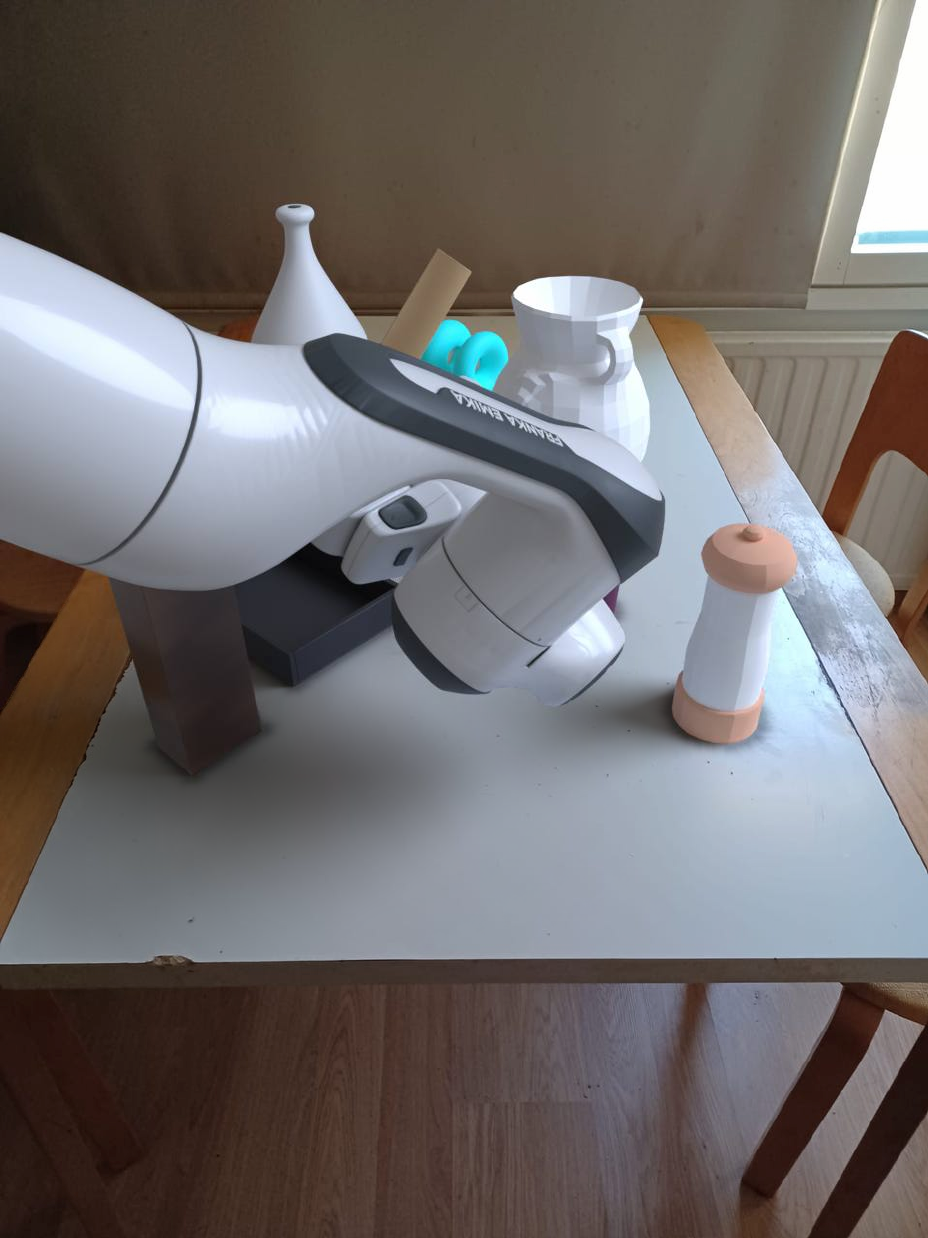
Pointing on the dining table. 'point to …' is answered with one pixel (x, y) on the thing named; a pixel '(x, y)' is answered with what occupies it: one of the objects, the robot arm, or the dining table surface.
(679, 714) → the pepper shaker
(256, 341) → the vase
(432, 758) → the dining table surface
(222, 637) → the shelf post
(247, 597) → the pan
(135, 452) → the robot arm
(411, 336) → the scrub brush
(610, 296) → the pitcher
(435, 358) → the donuts
